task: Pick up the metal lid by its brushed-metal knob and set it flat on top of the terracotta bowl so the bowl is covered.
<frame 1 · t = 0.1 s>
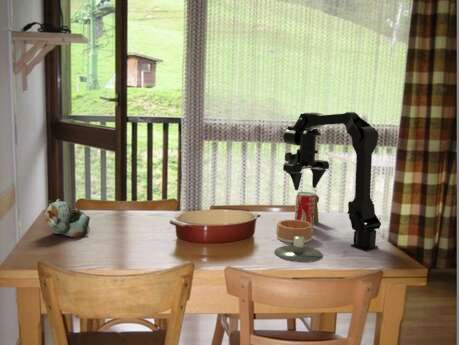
hand: (305, 189, 195), 15 cm above the table, fingers open, 9 cm apart
bowl: (294, 238, 183), on the table
lid: (298, 255, 167), on the table
soda can: (303, 227, 198), on the table
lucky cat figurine: (69, 234, 180), on the table
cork: (310, 222, 206), on the table
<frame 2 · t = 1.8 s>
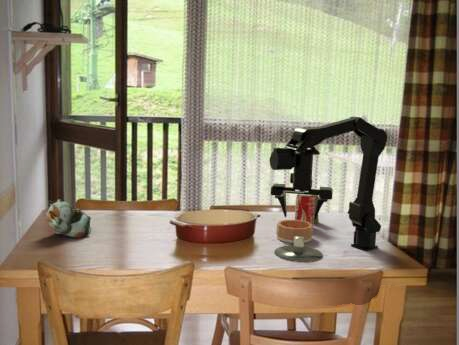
hand: (300, 218, 165), 12 cm above the table, fingers open, 9 cm apart
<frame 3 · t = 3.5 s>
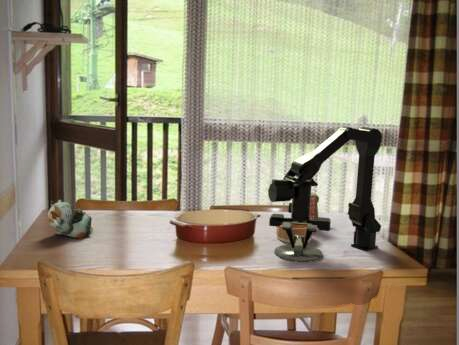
hand: (298, 248, 166), 2 cm above the table, fingers closed on lid, 3 cm apart
lid: (298, 254, 167), on the table, touching gripper
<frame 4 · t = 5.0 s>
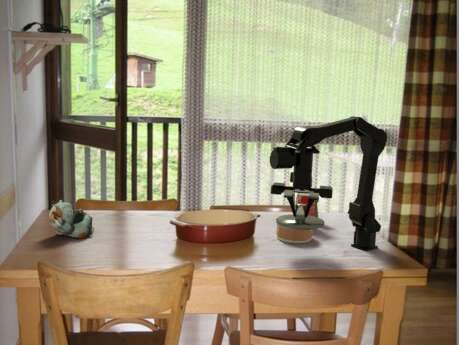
hand: (300, 217, 165), 12 cm above the table, fingers closed on lid, 3 cm apart
lid: (300, 222, 165), point 10 cm above the table, touching gripper
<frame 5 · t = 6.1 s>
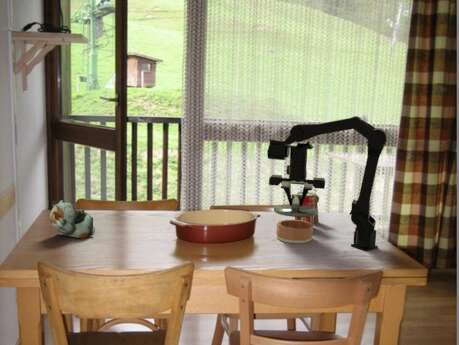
hand: (295, 206, 181), 11 cm above the table, fingers closed on lid, 3 cm apart
lid: (295, 211, 181), point 10 cm above the table, touching gripper
when the fingers open (8 cm above the table, at t = 7.0 s): lid drops 1 cm, resting on bowl.
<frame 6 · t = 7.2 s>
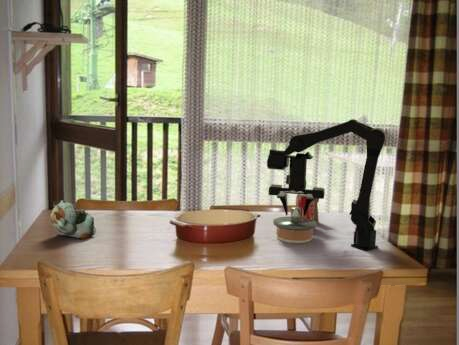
hand: (295, 215, 182), 8 cm above the table, fingers open, 6 cm apart
lid: (294, 224, 182), point 5 cm above the table, touching bowl
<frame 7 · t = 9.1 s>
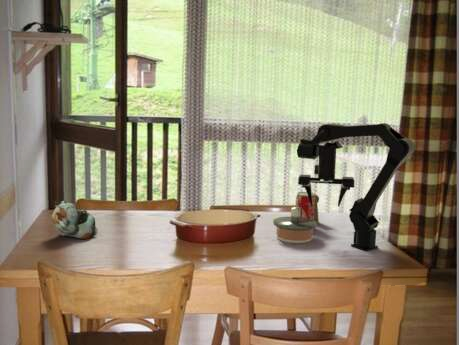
hand: (324, 205, 182), 12 cm above the table, fingers open, 9 cm apart
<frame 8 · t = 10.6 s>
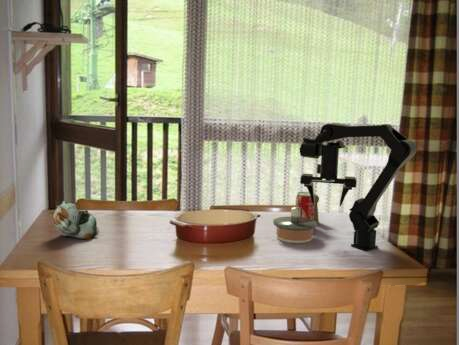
hand: (326, 204, 182), 12 cm above the table, fingers open, 9 cm apart
at the end: lid 0.1 cm off-centre on the bowl, point 5.0 cm above the bowl's base; lid tilted 0°; the gripper is holding nothing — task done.
